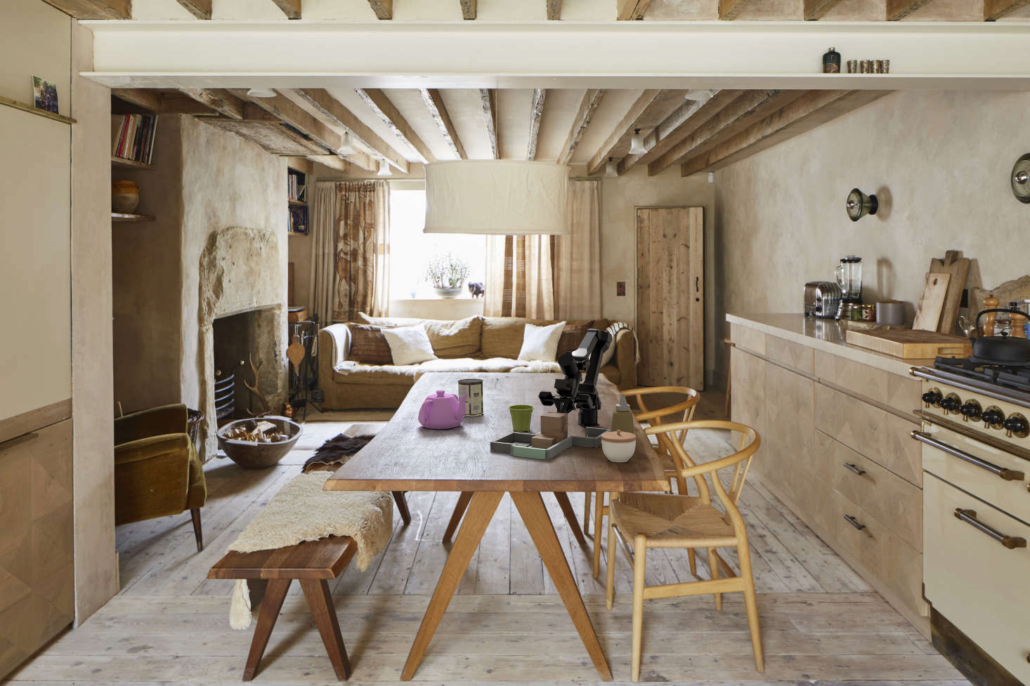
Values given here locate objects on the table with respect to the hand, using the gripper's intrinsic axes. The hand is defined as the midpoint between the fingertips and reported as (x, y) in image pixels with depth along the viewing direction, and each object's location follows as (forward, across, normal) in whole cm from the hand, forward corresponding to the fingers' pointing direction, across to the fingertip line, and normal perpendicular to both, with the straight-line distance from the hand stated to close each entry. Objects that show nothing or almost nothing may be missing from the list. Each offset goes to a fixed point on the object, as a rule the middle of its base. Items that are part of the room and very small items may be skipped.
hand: (558, 419), depth 240 cm
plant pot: (-2, -19, +12) cm, 23 cm away
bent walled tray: (+9, 0, +1) cm, 9 cm away
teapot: (+3, -47, +7) cm, 48 cm away
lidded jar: (+16, +26, -4) cm, 31 cm away
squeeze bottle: (+5, +23, +6) cm, 24 cm away
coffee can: (-14, -51, +25) cm, 58 cm away
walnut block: (+10, 0, 0) cm, 10 cm away
